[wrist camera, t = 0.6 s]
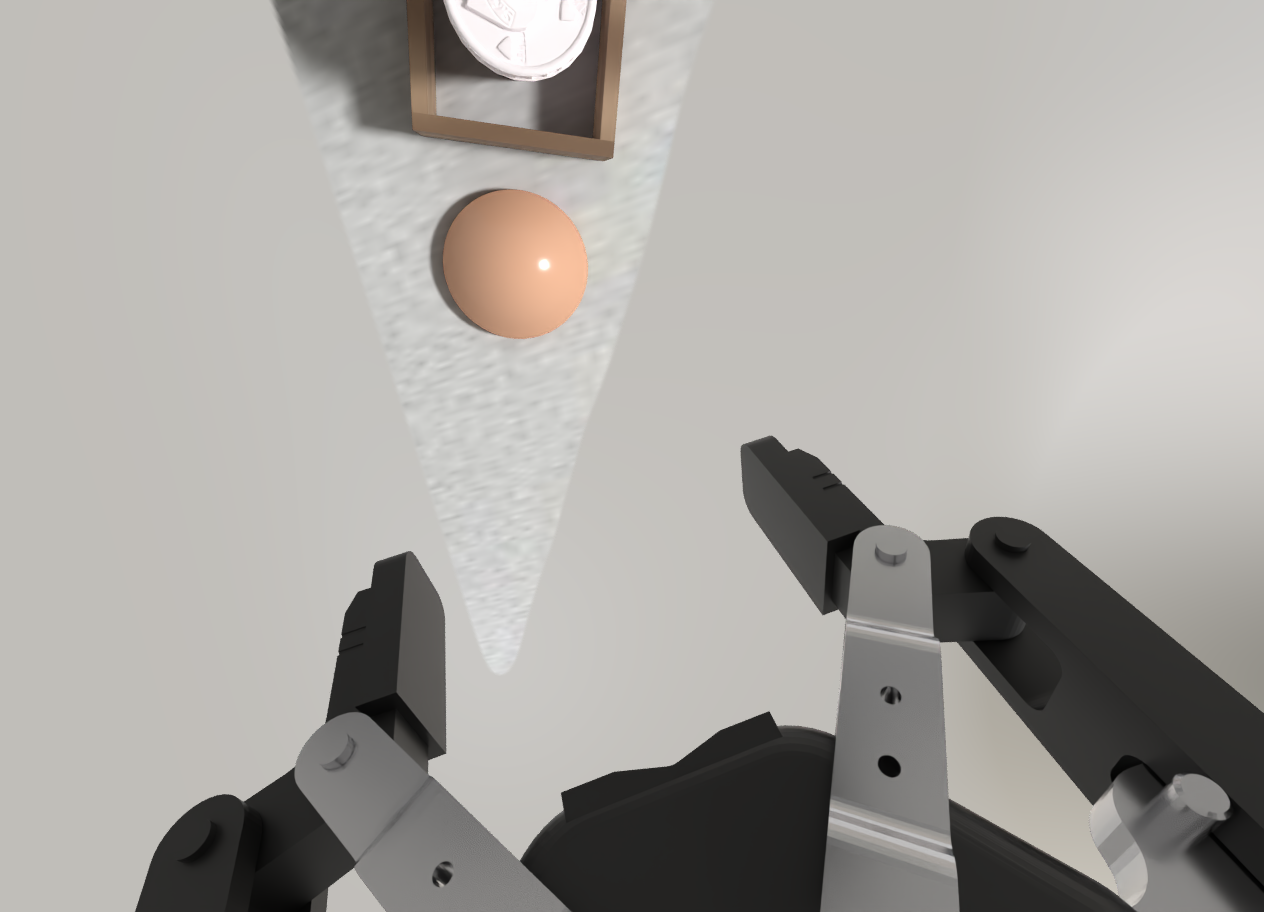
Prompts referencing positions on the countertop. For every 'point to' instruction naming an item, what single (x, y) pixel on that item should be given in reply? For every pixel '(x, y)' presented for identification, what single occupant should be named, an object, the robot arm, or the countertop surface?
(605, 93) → the crate
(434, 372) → the countertop surface
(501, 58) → the smoothie
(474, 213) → the peach glossy dome
